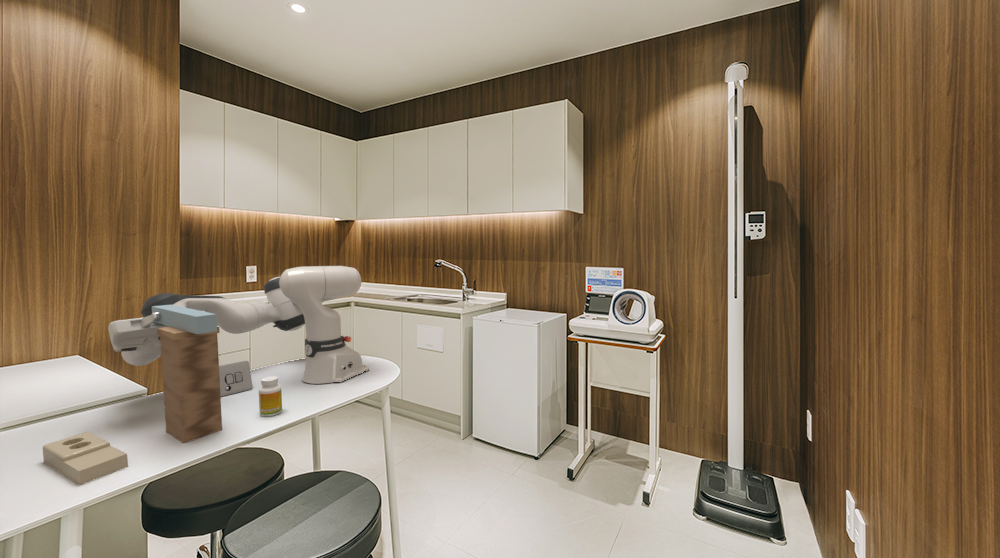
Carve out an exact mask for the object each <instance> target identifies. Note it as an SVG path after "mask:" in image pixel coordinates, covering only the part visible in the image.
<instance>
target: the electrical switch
mask: <svg viewBox="0 0 1000 558" xmlns="http://www.w3.org/2000/svg"><path fill="white" fill-rule="evenodd" d="M219 377H220V396H221V397H227V396H230V395H233V394H237V393H241V392H245V391H249V390H252V389H253V381H252V374H251V368H250V361H248V360H242V361H238V362H231V363H227V364H223V365H222V364H221V365H219ZM227 388H228V389H227Z"/></svg>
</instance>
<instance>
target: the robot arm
mask: <svg viewBox="0 0 1000 558" xmlns="http://www.w3.org/2000/svg"><path fill="white" fill-rule="evenodd" d="M361 286H362V276H361V274H360V273H359V271H358V270H357V269H356V268H355V267H350V266H345V265H316V266H315V265H313V266H311V265H310V266H296V267H292V268H287V269H285V270H283V272H282V273H281V275H280V276H276V277H272V278H271V279H269V280H268V281H266V282H265V283H264V285H263V291H264V295H266V299H267V302H268V303H267V302H265V301H264V300H263V301H261V300H249V301H242V302H240V301H239V302H238V301H233V300H230V299H227V298H225V297H223V296H220V295H202V294H201V295H199V294H198V295H195V294H192V295H189V294H188V295H187V294H177V293H173V292H164V293H158V294H155V295H153V296H150V297H149V298H147V299H145V301H144V303H143V305H142V306H141V311H140V314H141V316H142V317H136V318H128V319H117V320H114V321H111V322H110V323H109V324H108V326H107V329H108V333H109V339H110V340H109V341H110V342H111V345H112V348H113V351H114V352H116V353H117V352H121V353H120V354H121V357H122V359H123V360H124V361H125V362H126V363H127V364H129V365H131V366H137V367H138V366H139V367H140V366H146V365H149V364H150V363H152V362H154V361H155V360H157V359H160V358H161V342H160V335H157V328H163V327H170V326H166V325H163V324H159V323H155V321H160V319H161V315H160V314H161V313H160V312H156V313H152V306H161V305H175V306H180V307H185V308H189V309H194V310H199V311H204V312H208V313H213V314H216V316H217V326H218V327H219V329H221V330H223V331H225V332H227V333H230V334H232V335H237V334H238V335H239V334H244V333H247V332H251V331H254V330H258V329H260V328H262V327H264V326H265V325H268V324H271V323H273V324H274V325H273V326H272V327H273V328H278V329H279V330H281V331H284V332H292V331H293V332H294V331H297V330H299V329H302V327H305V339H304V351H305V352H304V353H305V364H304V370H303V375H302V378H301V380H302V382H303V383H307V384H313V385H317V384H318V385H319V384H329V383H331V384H332V383H333V382H340V383H343V382H342V381H344V380H346V381H348V380H350V379H352V378H351V377H353V376H355V375H357V376H359V375H358V374H360V373H362V372H364V371H366V372H368V371H367V370H369V371H370V367H369V366H368V365H366V364H363V360H362V356H361V354H360V353H359V352H358V351H356V350H354V349H353V348H351V347H349V346H348V345H347V344H346V343H350V342H351V341H352V337H351V336H348V335H345V336H343V335H342V329H341V328H342V326H341V323H342V322H341V315H340V314H339V312H338V311H336V310H335V309H333V308H331V307H328V306H325V305H323V303H324V302H328V301H332V300H337V299H340V298H344V297H348V296H349V297H350V296H352V295H356V294H357V293H358V291H359V290H360V289H361ZM364 373H365V372H364ZM362 374H363V373H362ZM360 375H361V374H360ZM355 377H356V376H355ZM349 378H350V379H349ZM353 378H354V377H353ZM347 379H348V380H347ZM344 382H345V381H344Z"/></svg>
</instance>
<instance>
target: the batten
mask: <svg viewBox="0 0 1000 558" xmlns="http://www.w3.org/2000/svg"><path fill="white" fill-rule="evenodd" d="M156 312H160V313H161V314H160V315H161V319H160V321H155V323H159V324H163V325H166V326H170V327H173V328H177V329H180V330H184V331H187V332H191V333H194V334H202V333H208V332H215V331H217V326H218V325H217V316H216V314H213V313H208V312H204V311H199V310H194V309H189V308H185V307H180V306H175V305H161V306H152V313H156Z"/></svg>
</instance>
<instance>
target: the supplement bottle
mask: <svg viewBox="0 0 1000 558" xmlns="http://www.w3.org/2000/svg"><path fill="white" fill-rule="evenodd" d="M260 381H261V383H260V384H261V387H259V389H258V405H259V408H258V409H259V411H258V412H259V415H260V416H261V417H273V416H276V415H277V416H278V415H279V414H281V413H282V411H283V400H282V399H283V398H282V397H283V396H282V386H281V384H279V377H278V376H266V377H263V378H261V380H260Z"/></svg>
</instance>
